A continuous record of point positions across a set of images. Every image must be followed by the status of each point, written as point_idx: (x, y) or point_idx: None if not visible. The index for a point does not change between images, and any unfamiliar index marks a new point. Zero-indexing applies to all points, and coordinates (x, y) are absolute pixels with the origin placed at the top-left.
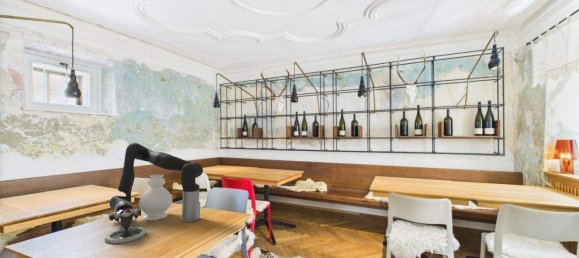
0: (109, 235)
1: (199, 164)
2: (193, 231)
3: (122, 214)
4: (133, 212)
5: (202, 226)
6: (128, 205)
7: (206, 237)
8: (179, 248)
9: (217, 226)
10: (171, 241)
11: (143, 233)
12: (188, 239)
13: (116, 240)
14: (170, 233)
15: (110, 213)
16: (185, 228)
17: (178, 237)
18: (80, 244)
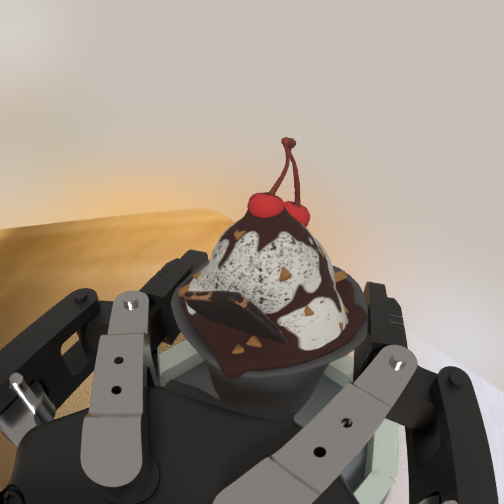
0: (374, 465)
1: None
2: (64, 254)
3: (333, 275)
4: (179, 290)
5: (16, 260)
6: (285, 138)
7: (105, 217)
8: (195, 217)
9: (19, 237)
10: (167, 248)
11: (182, 344)
12: (132, 231)
13: (346, 358)
14: (99, 292)
15: (480, 481)
16: (36, 285)
17: (128, 253)
18: (501, 478)
